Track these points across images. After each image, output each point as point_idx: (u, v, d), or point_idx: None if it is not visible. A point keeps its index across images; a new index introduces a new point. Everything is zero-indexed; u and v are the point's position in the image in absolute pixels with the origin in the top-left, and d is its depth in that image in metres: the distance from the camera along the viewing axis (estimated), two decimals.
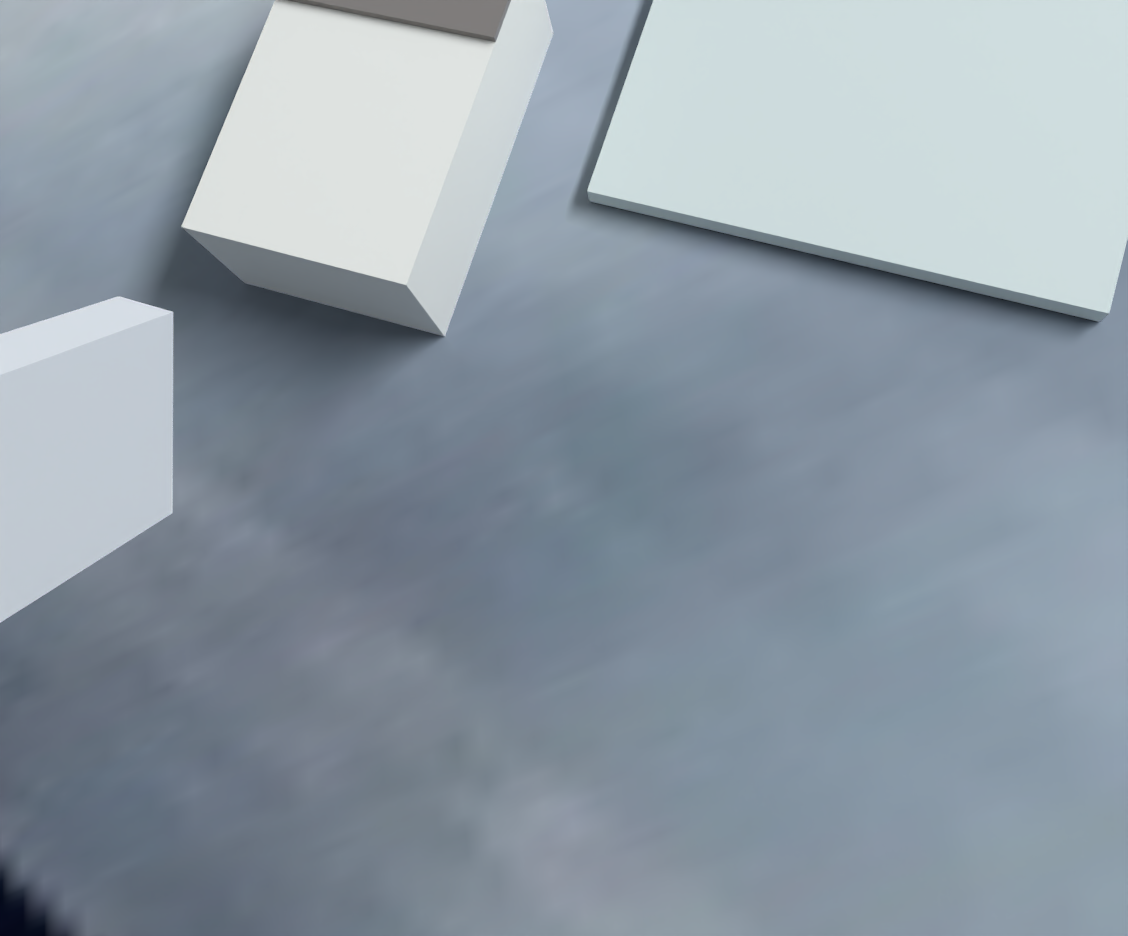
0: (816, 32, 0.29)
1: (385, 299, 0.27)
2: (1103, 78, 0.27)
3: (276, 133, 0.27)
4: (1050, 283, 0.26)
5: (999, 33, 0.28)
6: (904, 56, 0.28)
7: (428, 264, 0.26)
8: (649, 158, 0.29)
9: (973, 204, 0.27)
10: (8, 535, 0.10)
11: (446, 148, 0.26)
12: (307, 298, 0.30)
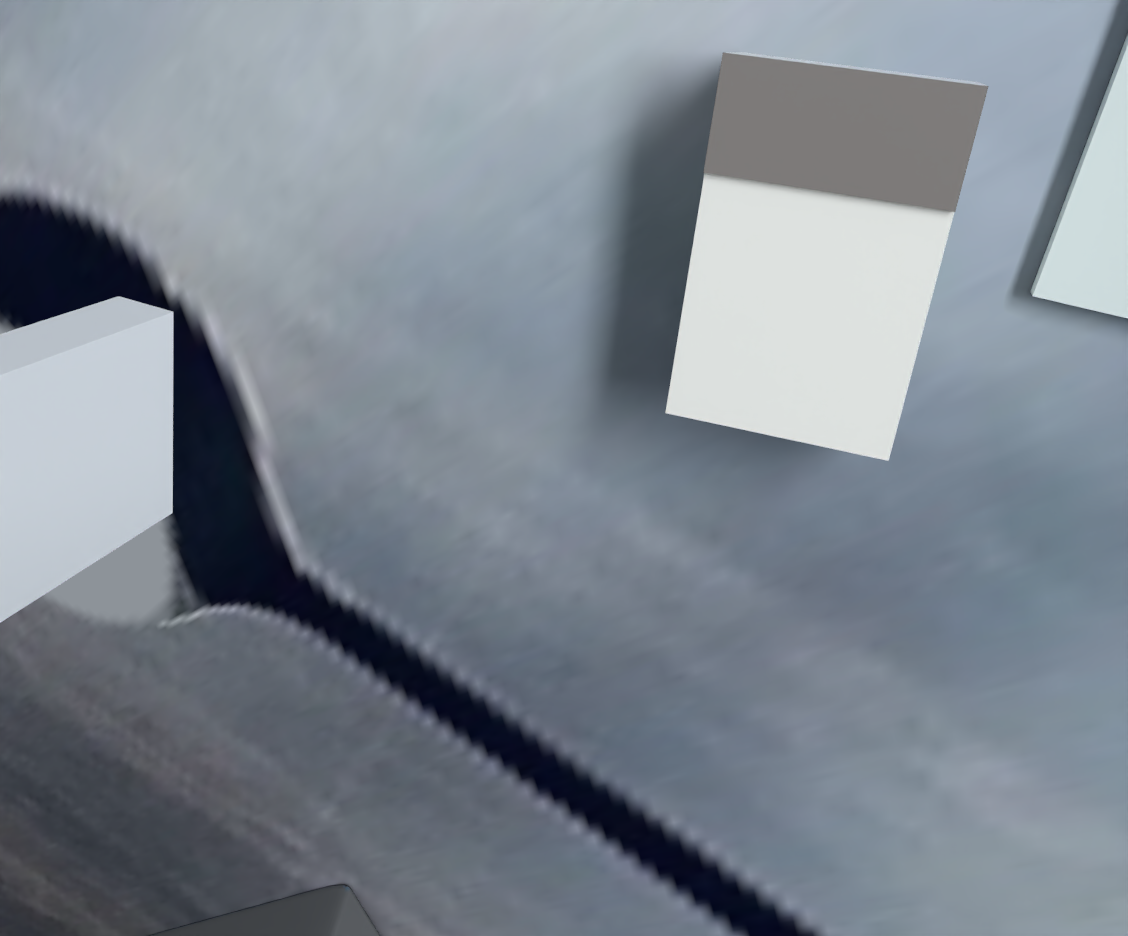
0: None
1: None
2: None
3: (736, 320, 0.29)
4: None
5: None
6: None
7: None
8: (1103, 260, 0.28)
9: None
10: (8, 535, 0.10)
11: (912, 330, 0.27)
12: None
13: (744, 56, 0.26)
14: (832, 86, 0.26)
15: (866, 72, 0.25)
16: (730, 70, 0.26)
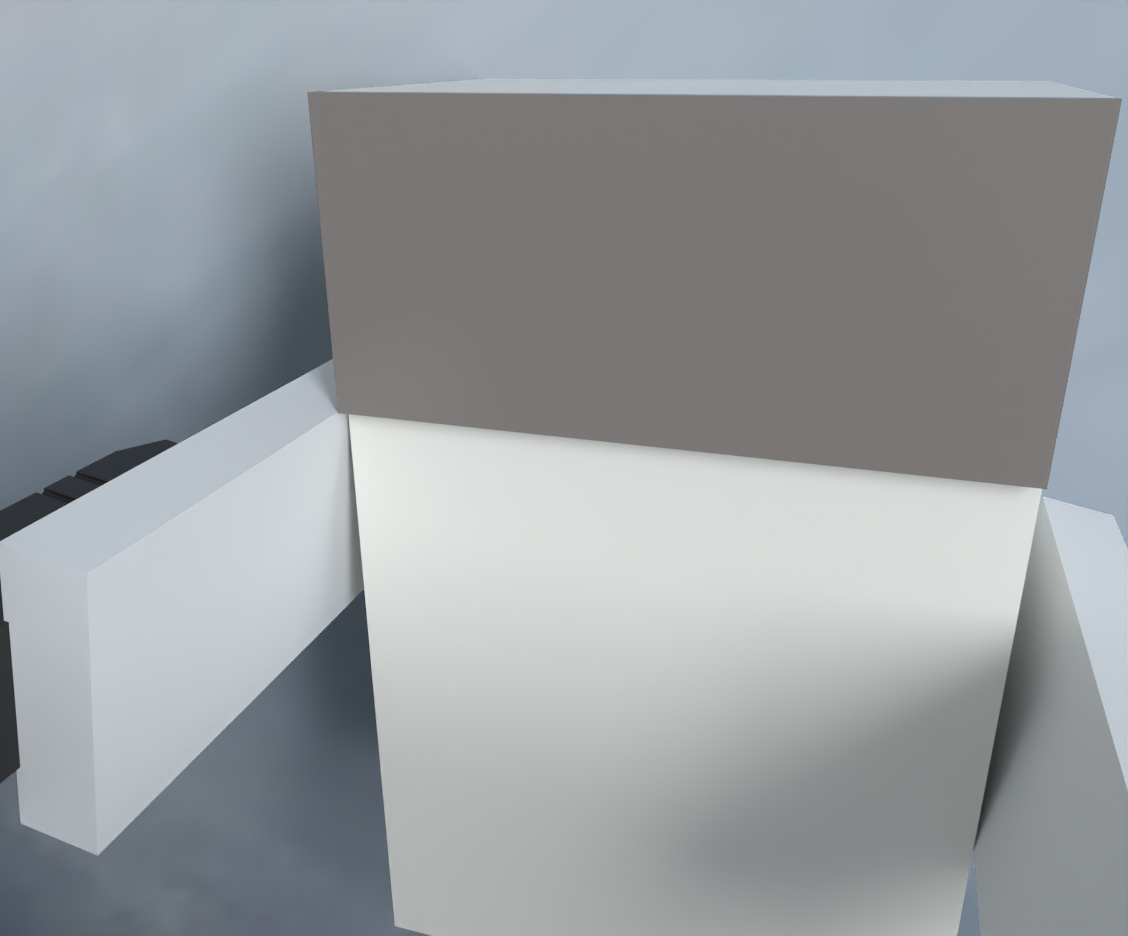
0: None
1: None
2: None
3: (503, 746, 0.11)
4: None
5: None
6: None
7: None
8: None
9: None
10: (342, 545, 0.11)
11: (954, 783, 0.10)
12: None
13: (365, 96, 0.09)
14: (622, 154, 0.08)
15: (715, 100, 0.08)
16: (338, 140, 0.09)
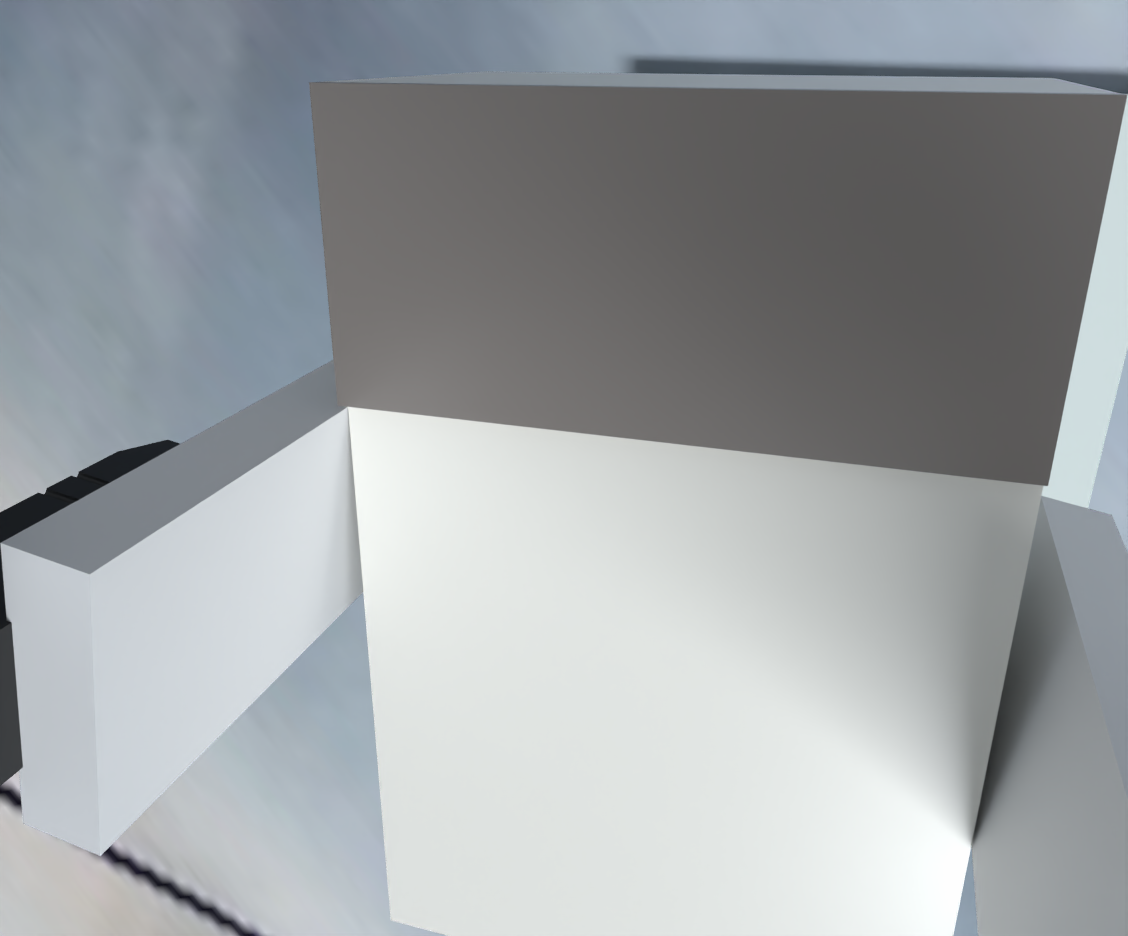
0: None
1: None
2: None
3: (501, 742, 0.11)
4: None
5: None
6: None
7: None
8: None
9: None
10: (344, 545, 0.11)
11: (952, 781, 0.10)
12: None
13: (366, 86, 0.09)
14: (626, 146, 0.08)
15: (718, 93, 0.08)
16: (340, 130, 0.09)
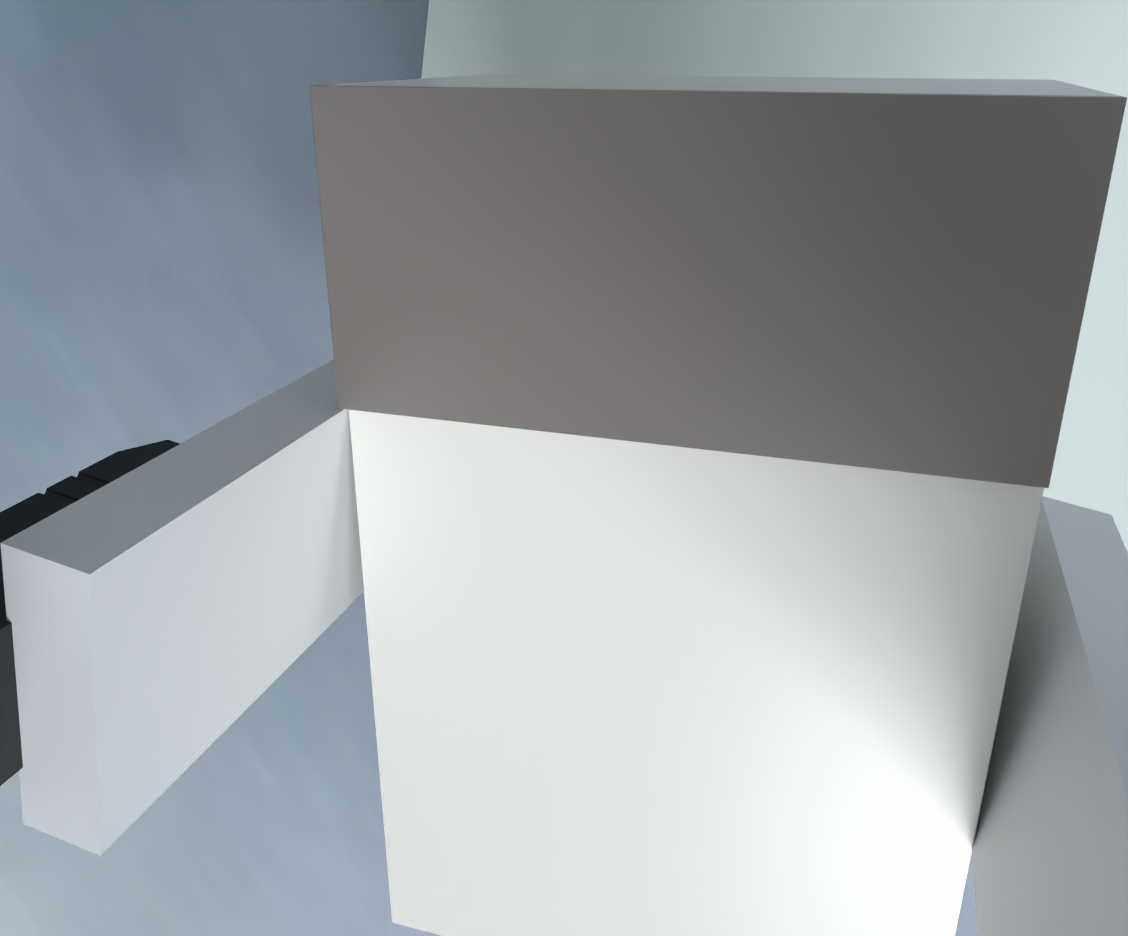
0: None
1: None
2: None
3: (502, 744, 0.11)
4: None
5: None
6: None
7: None
8: None
9: None
10: (344, 545, 0.11)
11: (955, 783, 0.10)
12: None
13: (367, 90, 0.09)
14: (626, 150, 0.08)
15: (718, 96, 0.08)
16: (340, 134, 0.09)
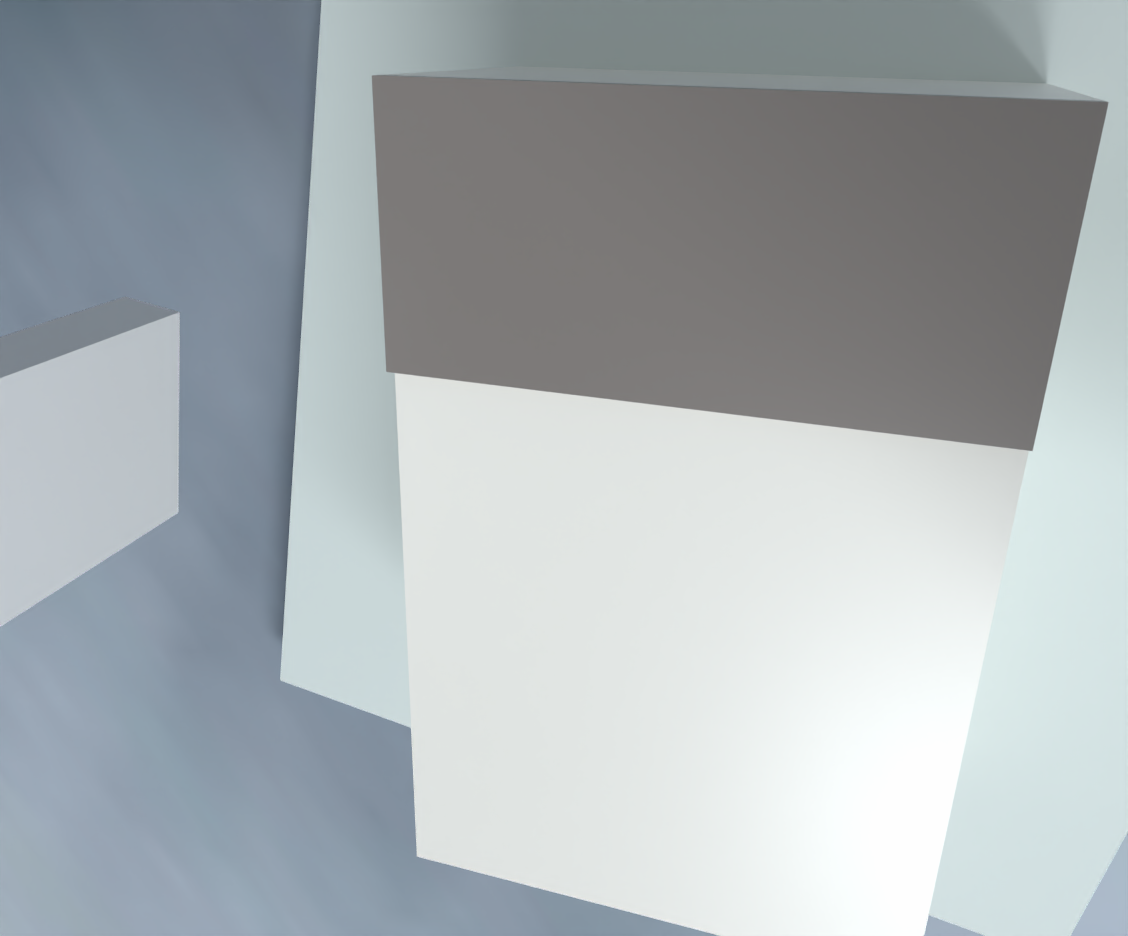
0: None
1: None
2: None
3: (526, 687, 0.12)
4: (305, 620, 0.18)
5: None
6: None
7: None
8: None
9: None
10: (16, 535, 0.10)
11: (942, 721, 0.11)
12: None
13: (424, 80, 0.10)
14: (660, 139, 0.09)
15: (745, 93, 0.09)
16: (398, 119, 0.10)
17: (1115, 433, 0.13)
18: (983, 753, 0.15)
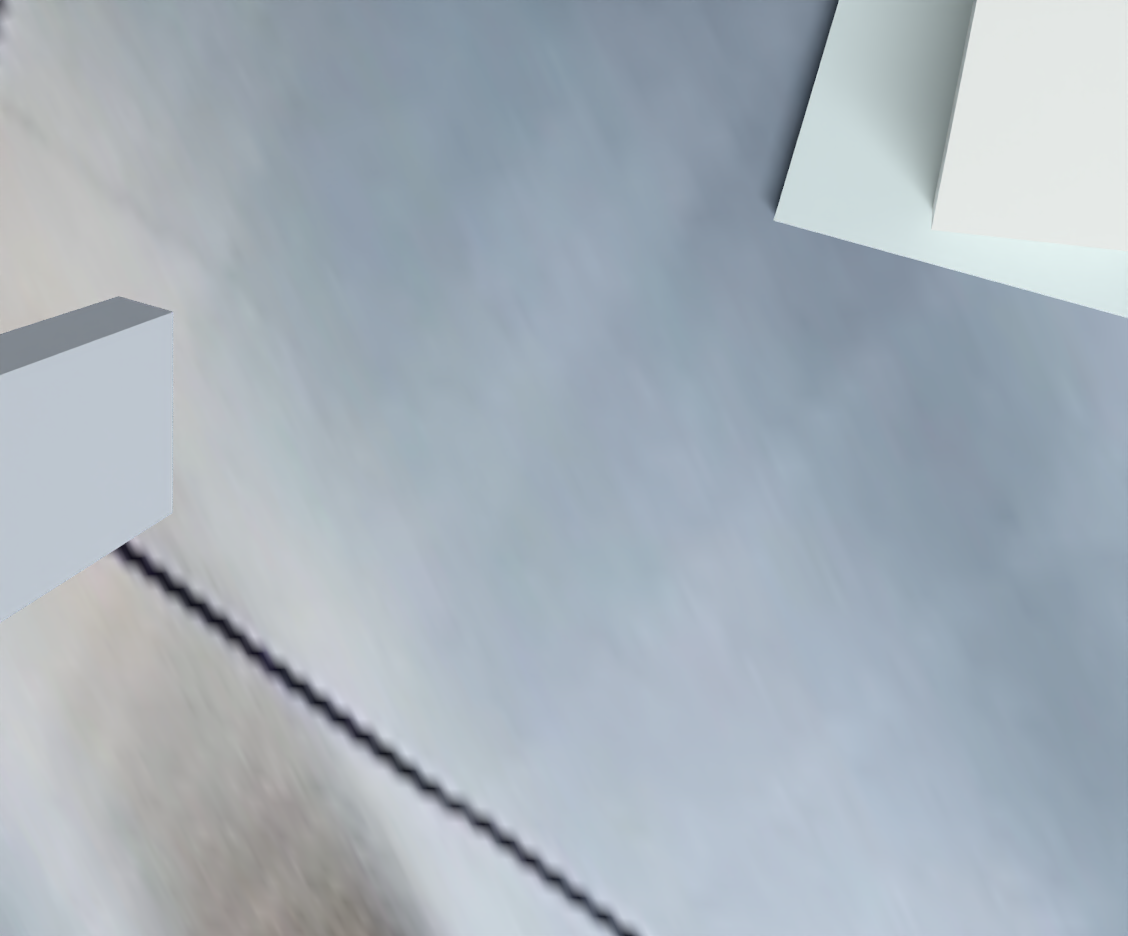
0: None
1: None
2: None
3: (1020, 111, 0.26)
4: (801, 176, 0.32)
5: None
6: None
7: None
8: None
9: (879, 112, 0.30)
10: (8, 535, 0.10)
11: None
12: None
13: None
14: None
15: None
16: None
17: None
18: None
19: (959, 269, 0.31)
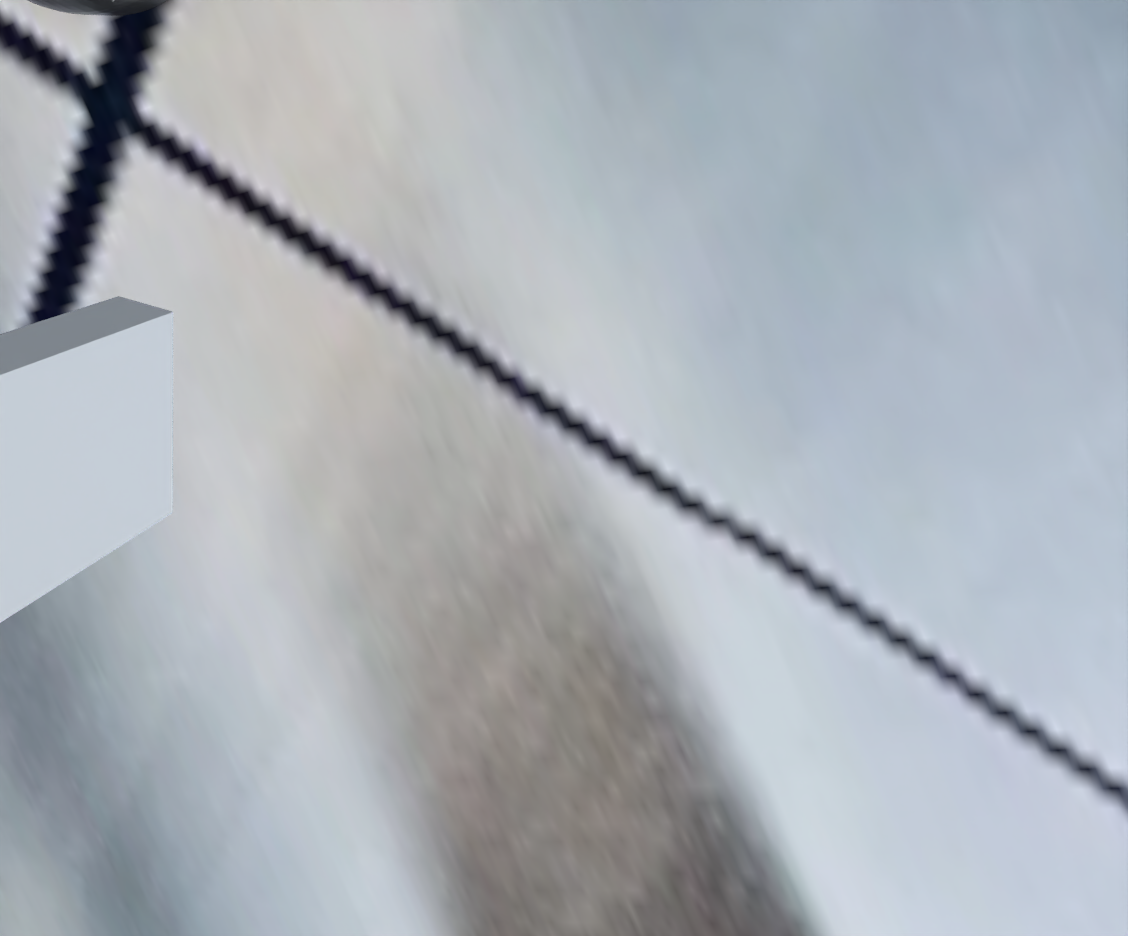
0: None
1: None
2: None
3: None
4: None
5: None
6: None
7: None
8: None
9: None
10: (8, 535, 0.10)
11: None
12: None
13: None
14: None
15: None
16: None
17: None
18: None
19: None
